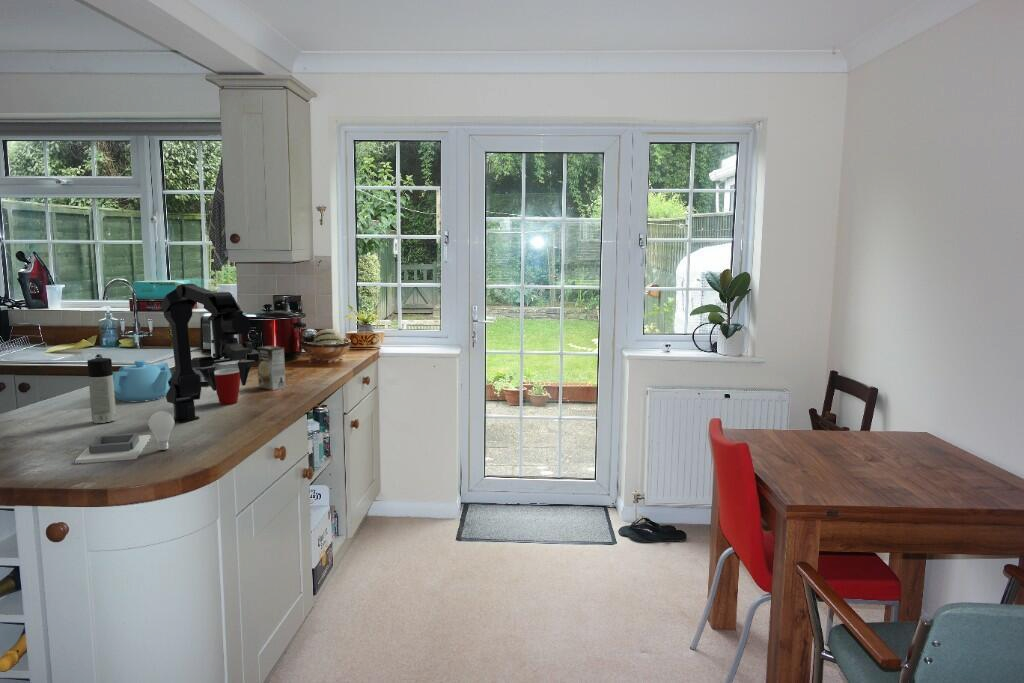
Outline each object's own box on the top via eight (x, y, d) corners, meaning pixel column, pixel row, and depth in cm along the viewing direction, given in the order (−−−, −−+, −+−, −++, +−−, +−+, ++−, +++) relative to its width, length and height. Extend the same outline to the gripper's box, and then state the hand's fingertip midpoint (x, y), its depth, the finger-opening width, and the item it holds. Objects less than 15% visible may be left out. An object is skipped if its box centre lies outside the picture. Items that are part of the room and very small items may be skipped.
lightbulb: (165, 454, 183) (162, 414, 181) (145, 452, 184) (142, 413, 183) (181, 447, 189) (178, 409, 188) (161, 446, 190) (158, 407, 189)
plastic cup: (217, 399, 247) (215, 367, 245) (248, 399, 247) (246, 366, 246) (206, 406, 236) (204, 372, 234) (238, 406, 237) (237, 372, 235)
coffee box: (257, 387, 268) (255, 347, 265) (271, 384, 273) (269, 345, 271) (273, 390, 263) (271, 349, 260) (286, 387, 268) (284, 347, 266)
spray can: (121, 419, 218) (116, 358, 215) (102, 425, 212) (97, 361, 209) (106, 417, 220) (101, 357, 217) (86, 423, 214) (81, 360, 211)
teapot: (108, 404, 238) (105, 366, 236) (118, 393, 255) (116, 357, 253) (169, 401, 244) (166, 363, 242) (175, 390, 262) (173, 355, 260)
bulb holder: (95, 442, 194) (94, 432, 193) (150, 438, 198) (149, 428, 197) (75, 463, 175) (74, 452, 174) (136, 459, 179) (135, 447, 179)
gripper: (207, 338, 187) (213, 394, 188) (267, 331, 201) (273, 383, 203) (187, 338, 194) (193, 393, 195) (246, 332, 208) (252, 382, 209)
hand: (229, 387), depth 200 cm, fingers open, 9 cm apart
